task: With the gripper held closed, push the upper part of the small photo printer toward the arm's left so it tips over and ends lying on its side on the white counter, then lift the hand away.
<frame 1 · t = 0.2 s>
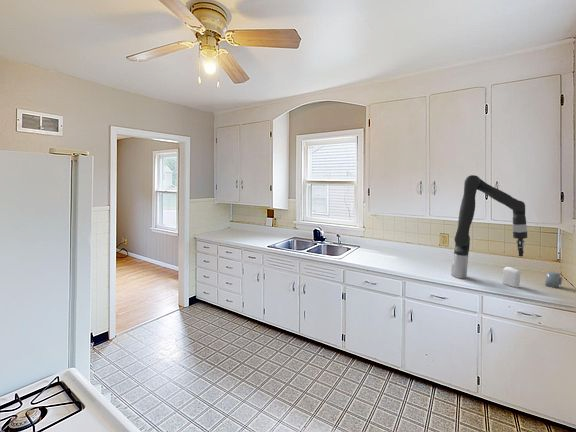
hand: (521, 254, 200), 22 cm above the worktop, tool pointing down, fingers open, 8 cm apart
grey rounded cylinder: (551, 286, 204), on the worktop
photo printer: (510, 285, 206), on the worktop
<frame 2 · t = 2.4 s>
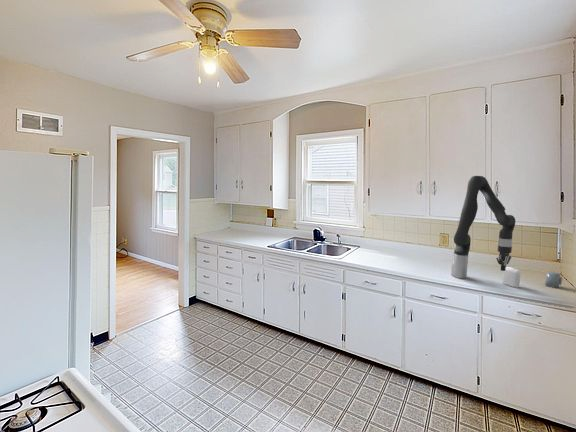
hand: (503, 270, 200), 12 cm above the worktop, tool pointing down, fingers closed
nothing on the worktop moved.
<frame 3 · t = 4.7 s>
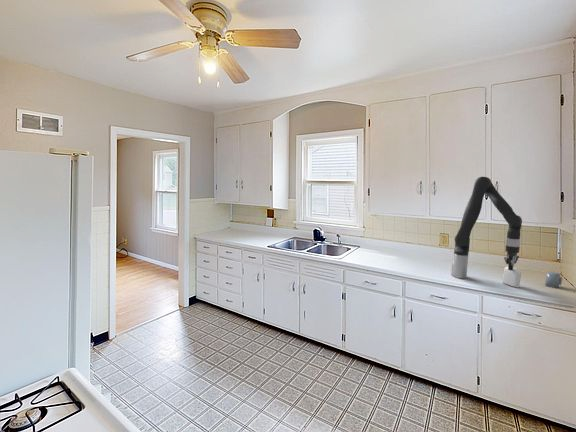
hand: (510, 270, 203), 11 cm above the worktop, tool pointing down, fingers closed
photo printer: (510, 285, 206), on the worktop, touching gripper
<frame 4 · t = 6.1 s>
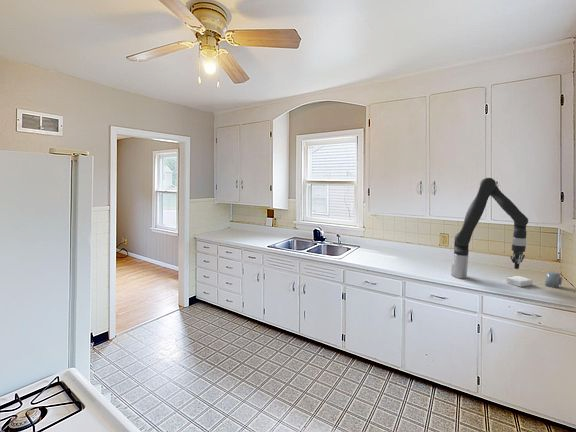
hand: (516, 268, 206), 11 cm above the worktop, tool pointing down, fingers closed
photo printer: (512, 282, 206), point 2 cm above the worktop
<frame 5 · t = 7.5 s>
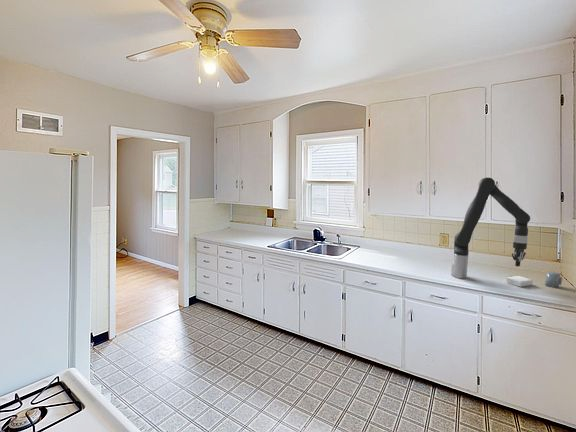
hand: (517, 266, 207), 13 cm above the worktop, tool pointing down, fingers closed
nothing on the worktop moved.
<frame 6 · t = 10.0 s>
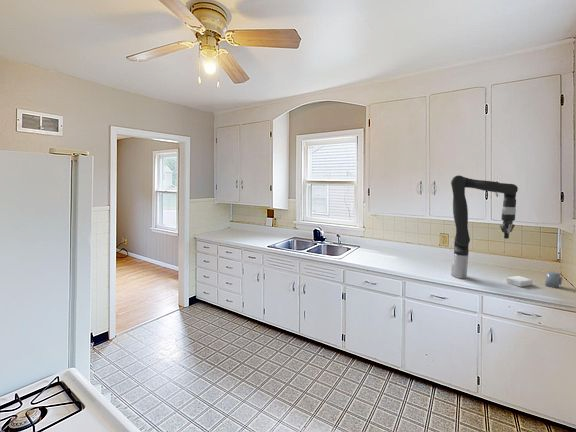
hand: (506, 238, 206), 32 cm above the worktop, tool pointing down, fingers closed
nothing on the worktop moved.
at the end: photo printer tilted 90°; photo printer inside the target area (4.5 cm from its centre), point 2.1 cm above the worktop; the gripper is holding nothing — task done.
